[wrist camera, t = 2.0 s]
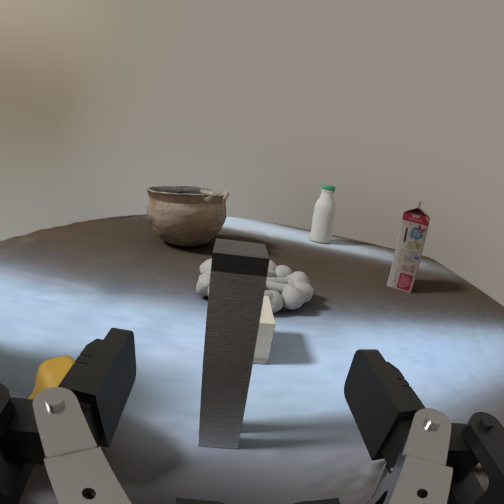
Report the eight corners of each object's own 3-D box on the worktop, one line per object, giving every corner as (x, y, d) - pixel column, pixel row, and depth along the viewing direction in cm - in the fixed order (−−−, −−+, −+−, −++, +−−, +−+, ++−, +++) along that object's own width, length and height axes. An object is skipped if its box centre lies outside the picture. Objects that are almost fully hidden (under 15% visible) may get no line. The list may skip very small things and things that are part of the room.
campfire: (252, 337, 45) (258, 300, 43) (172, 286, 58) (174, 256, 57) (329, 304, 61) (336, 276, 59) (252, 270, 74) (256, 246, 73)
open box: (203, 358, 38) (206, 317, 36) (208, 327, 45) (211, 290, 44) (267, 364, 38) (275, 324, 37) (262, 332, 46) (268, 296, 44)
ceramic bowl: (194, 261, 73) (200, 196, 69) (127, 241, 80) (130, 185, 76) (235, 243, 93) (242, 192, 89) (175, 229, 100) (179, 182, 96)
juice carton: (412, 286, 76) (432, 204, 70) (410, 293, 70) (432, 205, 64) (390, 279, 79) (408, 198, 73) (386, 285, 74) (406, 198, 67)
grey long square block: (198, 445, 24) (212, 252, 19) (201, 419, 28) (216, 238, 23) (237, 449, 25) (269, 258, 20) (236, 422, 28) (264, 244, 23)
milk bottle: (334, 244, 110) (344, 188, 105) (317, 244, 106) (327, 185, 101) (320, 238, 117) (330, 185, 111) (304, 237, 113) (313, 182, 107)
